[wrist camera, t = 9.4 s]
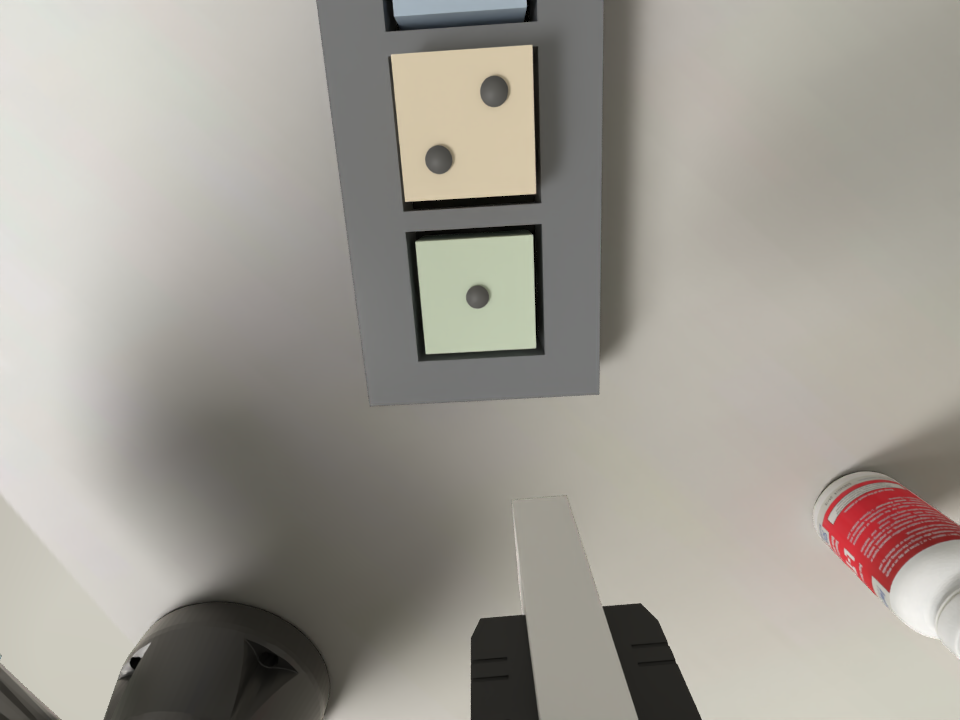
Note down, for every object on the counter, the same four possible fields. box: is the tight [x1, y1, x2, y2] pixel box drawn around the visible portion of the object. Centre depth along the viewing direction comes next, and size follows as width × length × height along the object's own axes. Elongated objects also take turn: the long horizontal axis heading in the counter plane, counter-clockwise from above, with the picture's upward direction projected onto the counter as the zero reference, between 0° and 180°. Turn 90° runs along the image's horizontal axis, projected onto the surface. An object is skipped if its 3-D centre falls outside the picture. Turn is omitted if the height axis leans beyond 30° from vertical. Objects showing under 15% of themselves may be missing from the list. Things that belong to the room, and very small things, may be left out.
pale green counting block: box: [415, 230, 536, 354], centre depth 30 cm, size 6×6×4 cm
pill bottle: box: [813, 471, 960, 660], centre depth 31 cm, size 6×6×11 cm
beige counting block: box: [391, 45, 536, 202], centre depth 25 cm, size 6×6×4 cm
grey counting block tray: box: [316, 0, 604, 406], centre depth 28 cm, size 13×28×4 cm, turn 3°
